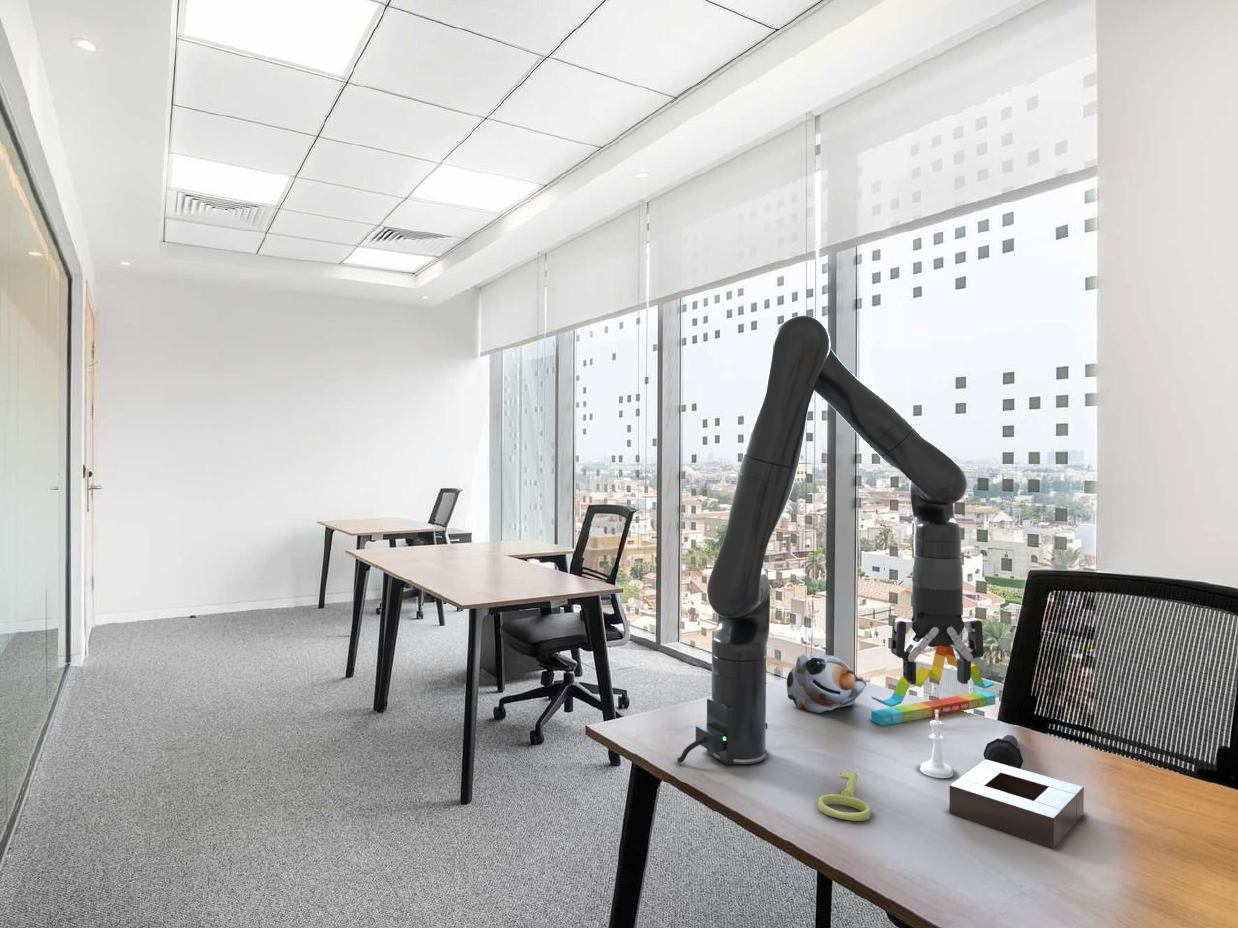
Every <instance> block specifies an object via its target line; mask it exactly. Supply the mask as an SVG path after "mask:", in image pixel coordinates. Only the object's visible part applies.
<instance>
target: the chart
mask: <svg viewBox="0 0 1238 928" xmlns="http://www.w3.org/2000/svg"><path fill="white" fill-rule="evenodd" d="M945 661H947V665H950V666H952V667H955V668H957V657H956V652H955V650H954V649H953V647H951V646H949V647H943V646H937V647H935V652H934V656H933V661H932V665H931V669H930V668H929V669H928V668H926V667H923V666H920V667H919V668H918V670H916V684H910V683H908V682H907V681H906V679H905V678H904V677H903V675H901V676H900V678H899V680H898V682H897V685H896V686H895V689H894V691H893V693H892V695H891V697H889V698H887V699H884V700H882V699H879V698H877V697H874V696H871V699H872V700H874V701H876V702H878V703H880V704H882V705H885V706H887V708H881V709H874V710H871V712H870V713H871V714H870V717H871V718H870V719H871V722H873V723H876V724H877V725H880V726H882V727H883V726H888V725H894V724H900V723H904V722H910V721H911V722H912V721H916V720H920V719H926V718H932V717H935V710H938V716H942V715H948V714H953V713H959V712H964V711H968V710H975V709H979V708H985V707H989V706H994V705H995V706H996V694H992V693H991V692H987V691H984V690H982V691H977V692H971V693H967V694H966V693H965V694H961V695H956V696H955V695H954V696H950V697H944V698H939V699H938V698H937V699H932V700H927V701H920V702H915V703H909V704H903V705H900V704H902V703H903V701H904V698H905V696H906V694H907V692H908V690H909V688H910V685H913V686H915V687H918V688H922V687H923V685H924V684H925V682H926V680H927V679H928V678H930V679H933V680H936V681H938V682H941V679H942V676H943V669H944V666H945ZM970 679H971V680H972V682H973V685H974V686H976V687H979V688H982V689H988V688H990V687H993V686H995V683H994V682H992V681H987V680H985V679H983V677H982V675H981V673H980V670H979V669H978V665H977V664H974V663H971V678H970Z"/></svg>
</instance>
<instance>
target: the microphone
mask: <svg viewBox="0 0 1238 928" xmlns="http://www.w3.org/2000/svg"><path fill="white" fill-rule="evenodd" d="M1018 743H1019V742H1018V739H1017V737H1015V736H1014V735H1013V734H1007V735H1004V736H1003V737H1002V738H996V739H994V740H992V741H989V742H987V744H986V745H985V747H984V751H983V753H982V755H983V759H984V760H985V759H986V760H990V761H993V762H997V763H1000V764H1004V765H1007V766H1011V767H1015V768H1018V769H1022V766H1023V763H1024V759H1023V755H1022V752H1021V750H1020V748H1019V747H1018Z"/></svg>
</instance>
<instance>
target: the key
mask: <svg viewBox="0 0 1238 928" xmlns="http://www.w3.org/2000/svg"><path fill="white" fill-rule="evenodd" d="M858 778H859V775H858V773H857V772H855V771H851V772H850V773H846V772H841V771H840V772H839V775H838V779H841V780H847V783H846V786H845V789H843V790H842V791H841V792H840V794H835V793H830V794H824V795H821V796H819V798H818V801H817V808H818V810H819V812H821V813H822V814H825V815H826V816H829V817H833V818H836V819H840V820H845V821H851V822H852V821H853V822H864V821H868V820H869V819H870V817H871V813H872V811H871V807H870V805H869V804H868V803H867V802H866V801H864V800H862V799H859V798H857V797H855V795H854V791H855V789H856V785H857V782H858ZM828 805H840V806H841V805H842V806H846V807H851V808H854V809H857V810H860V812H859V811H858V812H846V811H840V810H837V809H834V808H832V807H830V806H828Z"/></svg>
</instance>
